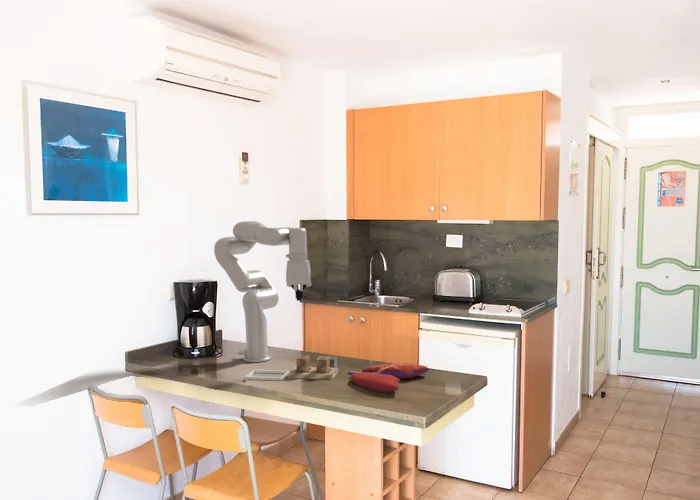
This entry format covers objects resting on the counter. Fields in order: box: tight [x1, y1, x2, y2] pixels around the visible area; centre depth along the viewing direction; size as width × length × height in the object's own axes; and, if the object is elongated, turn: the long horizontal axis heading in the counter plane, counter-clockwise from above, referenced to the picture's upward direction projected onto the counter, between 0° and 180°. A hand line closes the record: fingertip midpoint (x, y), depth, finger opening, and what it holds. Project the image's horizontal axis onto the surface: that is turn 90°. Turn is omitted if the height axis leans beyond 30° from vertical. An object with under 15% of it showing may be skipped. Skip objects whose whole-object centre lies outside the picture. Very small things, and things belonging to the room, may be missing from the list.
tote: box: [244, 369, 290, 382], centre depth 243 cm, size 15×10×2 cm
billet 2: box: [316, 355, 330, 374], centre depth 242 cm, size 4×6×7 cm, turn 170°
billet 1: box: [295, 354, 311, 373], centre depth 244 cm, size 4×6×7 cm, turn 169°
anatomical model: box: [347, 362, 430, 393], centre depth 237 cm, size 30×7×30 cm
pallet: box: [287, 366, 339, 380], centre depth 244 cm, size 18×11×3 cm, turn 79°
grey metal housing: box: [329, 355, 338, 368], centre depth 253 cm, size 6×5×6 cm
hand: (299, 300), depth 258 cm, fingers closed
